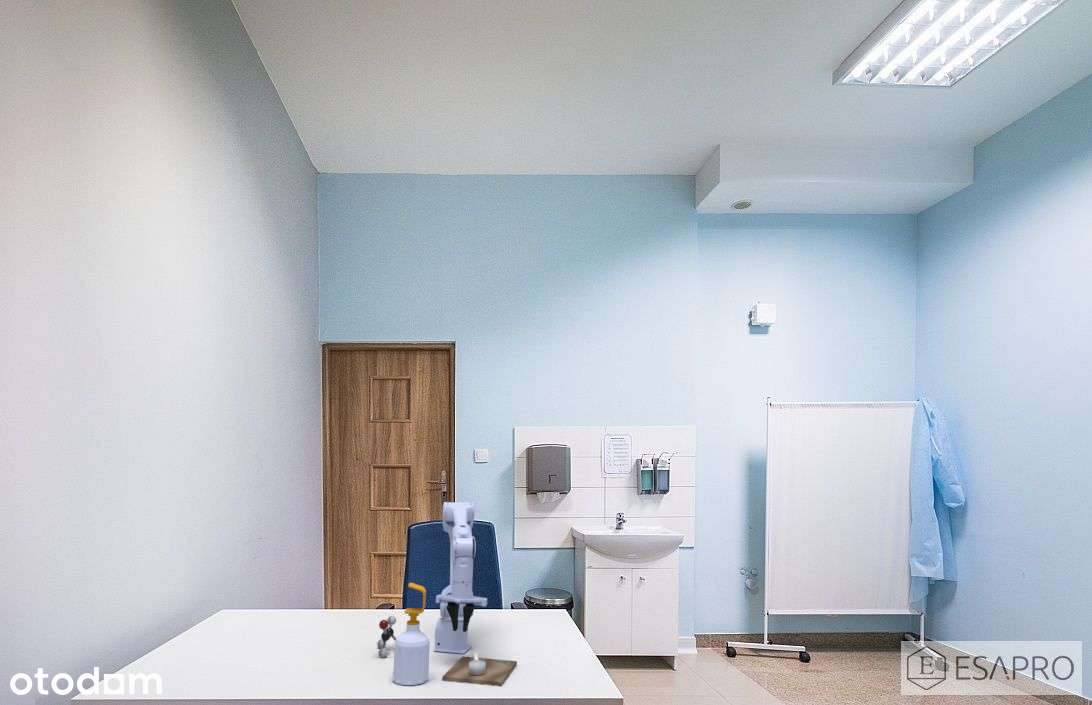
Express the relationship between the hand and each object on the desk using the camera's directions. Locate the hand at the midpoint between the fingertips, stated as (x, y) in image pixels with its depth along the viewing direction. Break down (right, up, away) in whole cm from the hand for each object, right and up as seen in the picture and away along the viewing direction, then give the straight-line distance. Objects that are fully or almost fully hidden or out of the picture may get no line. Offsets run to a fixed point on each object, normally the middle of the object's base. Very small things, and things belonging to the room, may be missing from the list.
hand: (460, 630), depth 205 cm
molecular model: (-22, -10, +8) cm, 26 cm away
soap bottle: (-11, -8, -14) cm, 20 cm away
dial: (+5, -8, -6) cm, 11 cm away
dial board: (+6, -9, -6) cm, 13 cm away
